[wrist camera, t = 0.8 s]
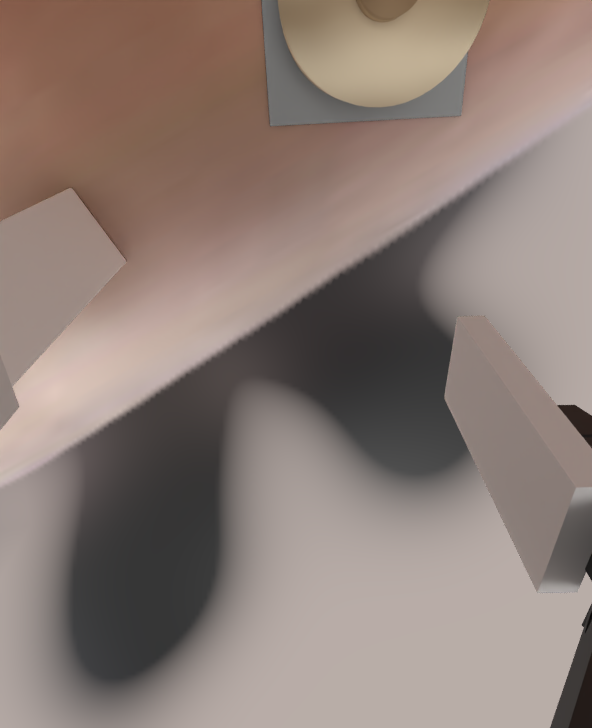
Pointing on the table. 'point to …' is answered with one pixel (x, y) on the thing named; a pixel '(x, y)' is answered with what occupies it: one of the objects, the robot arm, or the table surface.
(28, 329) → the milk
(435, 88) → the mat
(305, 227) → the table surface
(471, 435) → the robot arm
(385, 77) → the beige round piece
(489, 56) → the table surface
